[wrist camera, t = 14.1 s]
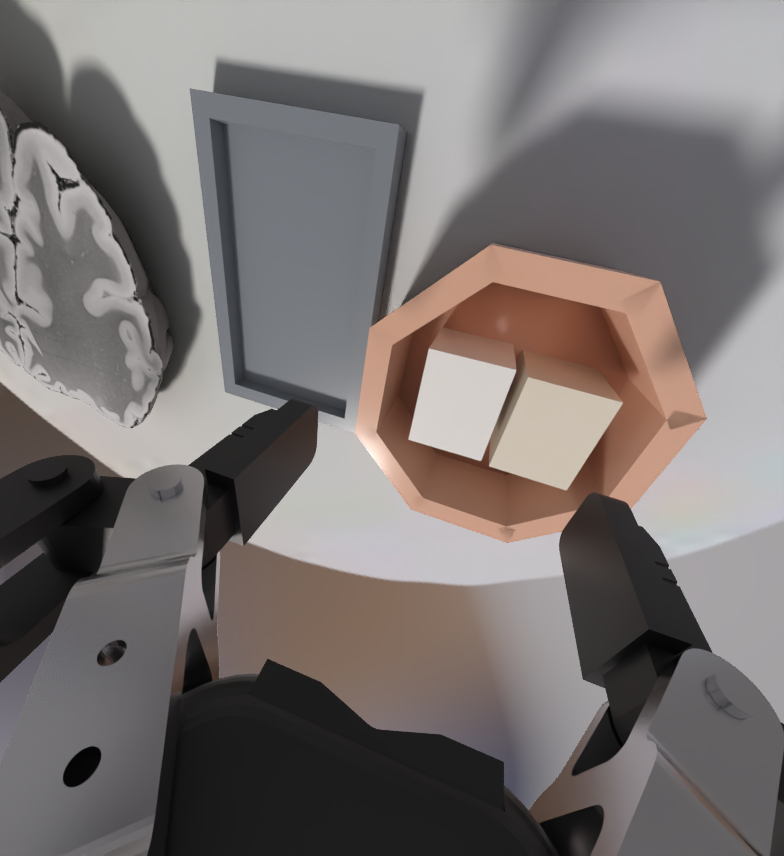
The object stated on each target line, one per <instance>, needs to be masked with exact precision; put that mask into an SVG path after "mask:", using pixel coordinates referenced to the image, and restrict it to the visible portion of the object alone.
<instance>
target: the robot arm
mask: <svg viewBox="0 0 784 856" xmlns="http://www.w3.org/2000/svg"><path fill="white" fill-rule="evenodd" d="M317 429H318V408H317V406H316V405H313V404H309V403H306V402H303V401H300V400H296V399H290V400H289V401H288V402H286V403H285V404H284V405H283V406H281V407H280V408H279V409H278V410H274V409H270V410H267V411H265V412H262V413H259V414H256V415H254V416H253V417H252V418H250V419H249V420H248V421H246V422H245V423H244V424H242V427H238V428H237V429H236V430H234V431H233V432H232V434H231V435H228V436H227V437H225V438H224V439H223V440H221V441H220V442H219V443H217V444H216V445H215V446H213V447H212V448H211V449H209V450H208V451H207V452H205V453H204V454H203V455H201V456H200V457H199V458H198V459H196V460H195V461H194V462H192V463H191V464H190V465H188V466H187V465H167V466H162V467H158V468H155V469H152V470H150V471H148V472H146V473H144V474H142V475H141V476H139V477H138V478H136V479H134V478H119V477H105V476H100V475H99V473H98V471H97V469H96V467H95V465H94V463H93V462H92V461H91V460H90V459H88V458H86V457H83V456H77V455H63V456H55V457H50V458H46V459H42V460H39V461H36V462H33V463H30V464H28V465H26V466H24V467H22V468H20V469H18V470H16V471H14V472H12V473H11V474H9V475H7V476H5V477H3V478H1V479H0V568H2V567H3V566H5V565H6V564H7V563H9V562H10V561H12V560H13V559H14V558H16V557H17V556H18V555H20V554H21V553H23V552H24V551H25V550H27V549H28V548H29V547H31V546H32V545H34V544H35V543H36V542H37V544H38V545H39V546H40V548H41V549H42V551H43V552H44V553H42V554H41V555H40V556H39V557H37V558H36V559H34V560H33V561H32V562H30V563H29V564H28V565H27V566H25V567H24V568H23V569H21V570H20V571H19V572H18V573H16V574H15V575H13V576H12V577H11V578H10V579H8V580H7V581H5V582H4V583H3V584H2V585H0V682H1V681H2V680H3V679H4V678H5V677H6V676H7V675H8V674H9V673H10V672H12V671H13V670H14V668H16V667H17V666H18V665H19V664H20V663H21V662H22V661H23V660H24V659H25V658H26V657H27V656H28V655H29V654H30V653H31V652H32V651H33V650H34V649H35V648H37V647H38V646H39V645H40V644H41V643H42V642H43V641H44V640H45V639H46V638H47V637H48V636H49V635H50V634H51V633H52V632H53V633H52V636H51V638H50V641H49V643H48V646H47V648H46V651H45V653H44V656H43V658H42V661H41V663H40V666H39V669H38V671H37V673H36V676H35V679H34V681H33V683H32V686H31V688H30V691H29V693H28V696H27V698H26V701H25V703H24V706H23V709H22V711H21V714H20V716H19V718H18V721H17V723H16V726H15V729H14V731H13V733H12V736H11V738H10V741H9V743H8V746H7V749H6V751H5V753H4V756H3V758H2V761H1V764H0V856H784V724H783V723H781V722H780V720H779V718H778V717H777V715H776V713H775V711H774V709H773V708H772V706H771V705H770V703H769V702H768V701H767V699H766V698H765V696H764V695H763V694H762V693H761V692H760V690H759V689H758V688H757V687H756V686H755V685H754V684H753V683H752V682H751V681H750V680H749V679H748V678H747V677H746V676H745V675H744V674H743V673H741V672H740V671H739V670H738V669H737V668H736V667H734V666H733V665H732V664H730V663H729V662H727V661H725V660H724V659H722V658H721V657H719V656H717V655H715V654H713V653H712V651H711V649H710V647H709V645H708V643H707V641H706V639H705V637H704V635H703V633H702V631H701V629H700V627H699V625H698V623H697V621H696V619H695V617H694V615H693V613H692V611H691V609H690V607H689V605H688V603H687V601H686V599H685V597H684V595H683V593H682V591H681V589H680V587H679V586H677V585H676V584H677V581H676V579H675V576H674V575H673V573H672V570H671V569H668V567H669V564H668V562H667V560H666V558H665V556H664V554H663V552H662V550H661V548H660V546H659V545H658V544H657V543H656V542H655V541H654V539H653V538H652V537H651V536H650V535H649V534H648V533H647V532H646V530H645V529H644V528H643V527H641V526H638V524H637V522H636V520H635V518H634V516H633V513H632V511H631V509H630V507H629V505H628V504H627V503H626V502H625V501H622V500H618V499H615V498H612V497H609V496H605V495H602V494H599V493H596V492H593V493H590V494H589V495H588V496H587V497H586V498H585V500H584V501H583V503H582V504H581V505H580V507H579V508H578V509H577V511H576V512H575V514H574V515H573V516H572V518H571V519H570V520H569V522H568V523H567V525H566V526H565V528H564V529H563V531H562V534H561V537H560V542H559V550H560V556H561V561H562V567H563V572H564V578H565V583H566V589H567V594H568V600H569V605H570V611H571V616H572V622H573V627H574V633H575V638H576V644H577V649H578V655H579V660H580V666H581V671H582V676H583V680H586V681H588V682H591V683H593V684H596V685H599V686H601V687H603V688H606V693H607V697H608V701H607V702H605V703H604V704H602V705H601V707H600V708H599V710H598V712H597V713H596V715H595V716H594V718H593V720H592V721H591V723H590V725H589V726H588V728H587V730H586V731H585V733H584V735H583V736H582V738H581V740H580V741H579V743H578V745H577V746H576V748H575V750H574V751H573V753H572V755H571V757H570V758H569V760H568V762H567V763H566V765H565V767H564V768H563V770H562V771H561V773H560V774H559V776H558V777H557V778H556V780H555V781H554V782H553V783H552V784H551V785H550V786H549V787H548V788H547V789H546V790H545V791H544V792H543V793H542V794H541V795H540V796H539V797H538V798H537V800H536V801H535V802H534V803H533V805H532V806H531V808H530V809H529V810H528V809H527V808H526V807H525V806H524V805H523V804H522V802H521V801H520V800H519V799H518V798H517V797H516V796H515V795H514V794H513V793H512V792H511V791H510V790H509V789H508V788H507V787H506V786H505V785H504V762H502V761H500V760H498V759H495V758H493V757H491V756H489V755H486V754H484V753H482V752H480V751H477V750H475V749H472V748H470V747H468V746H466V745H463V744H461V743H459V742H457V741H454V740H452V739H450V738H447V737H445V736H443V735H439V734H427V733H414V732H401V731H389V730H379V729H375V728H373V727H371V726H370V725H368V724H367V723H366V722H365V721H364V720H363V719H362V718H361V717H359V716H358V715H357V714H356V713H355V712H354V711H353V710H352V709H350V708H349V707H348V706H347V705H346V704H345V703H344V702H343V701H341V700H340V699H339V698H338V697H337V696H336V695H335V694H334V693H332V692H331V691H330V690H329V689H328V688H327V687H326V686H324V685H323V684H322V683H321V682H319V681H317V680H315V679H312V678H310V677H308V676H305V675H303V674H301V673H299V672H296V671H294V670H292V669H290V668H287V667H285V666H283V665H280V664H278V663H276V662H273V661H271V660H269V659H267V661H266V663H265V664H264V666H263V668H262V670H261V672H260V674H242V675H234V676H230V677H225V678H220V679H219V646H218V636H217V618H218V593H219V571H220V550H221V549H222V548H223V546H224V545H225V544H226V543H227V542H228V541H231V542H234V543H236V544H239V545H242V546H244V545H245V544H246V543H247V541H248V540H249V539H250V538H251V536H252V535H253V534H254V533H255V531H256V530H257V529H258V528H259V527H260V525H261V524H262V523H263V522H264V520H265V519H266V518H267V517H268V515H269V514H270V513H271V512H272V510H273V509H274V508H275V507H276V506H277V504H278V503H279V502H280V501H281V499H282V498H283V497H284V496H285V494H286V493H287V492H288V491H289V490H290V488H291V487H292V486H293V485H294V483H295V482H296V481H297V480H298V478H299V477H300V476H301V475H302V473H303V472H304V471H305V470H306V469H307V467H308V466H309V465H310V463H311V462H312V460H313V458H314V455H315V452H316V447H317Z"/></svg>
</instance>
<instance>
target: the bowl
mask: <svg viewBox="0 0 784 856" xmlns="http://www.w3.org/2000/svg"><path fill="white" fill-rule="evenodd" d="M442 327H443V328H447V329H451V330H456V331H460V332H464V333H468V334H473V335H477V336H481V337H485V338H489V339H494V340H498V341H502V342H506V343H511V344H513V345H514V353H515V361H516V365H517V362H518V360H519V357H520V355H521V353H522V350H526V351H530V352H534V353H538V354H542V355H546V356H549V357H553V358H557V359H561V360H565V361H569V362H573V363H577V364H581V365H584V366H588V367H592V368H596V369H599V371H600V372H601V373H602V375H603V376H604V377H605V379H606V380H607V381H608V383H609V384H610V385H611V387H612V388H613V389H614V391H615V392H616V394H617V395H618V396H619V398H620V399H621V400H622V402H623V404H622V406H621V407H620V409H619V410H618V412H617V413H616V415H615V416H614V418H613V419H612V421H611V423H610V424H609V426H608V427H607V429H606V430H605V432H604V433H603V435H602V437H601V438H600V440H599V441H598V443H597V444H596V446H595V447H594V449H593V450H592V452H591V454H590V455H589V457H588V458H587V460H586V461H585V463H584V464H583V466H582V467H581V469H580V471H579V472H578V474H577V475H576V477H575V478H574V480H573V481H572V483H571V484H570V486H569V488H568V489H567V491H566V490H563V489H560V488H556V487H553V486H550V485H547V484H544V483H541V482H537V481H534V480H531V479H528V478H525V477H521V476H518V475H515V474H512V473H509V472H505V471H502V470H499V469H496V468H493V467H489V454H490V440H489V442H488V445H487V447H486V450H485V452H484V455H483V457H482V460H481V461H479V460H475V459H472V458H469V457H465V456H462V455H459V454H455V453H452V452H448V451H445V450H442V449H438V448H435V447H431V446H428V445H425V444H421V443H418V442H415V441H411V440H408V439H409V435H410V430H411V426H412V421H413V417H414V412H415V408H416V404H417V399H418V395H419V390H420V386H421V381H422V377H423V372H424V368H425V364H426V359H427V355H428V350H429V347H430V346H431V344H432V343H433V341H434V340H435V338H436V337H437V335H438V334H439V332H440V330H441V329H442ZM706 419H707V418H706V415H705V412H704V409H703V407H702V404H701V401H700V398H699V395H698V392H697V389H696V386H695V383H694V380H693V377H692V374H691V371H690V368H689V365H688V362H687V359H686V356H685V353H684V350H683V347H682V344H681V341H680V338H679V335H678V332H677V329H676V326H675V323H674V321H673V318H672V315H671V312H670V309H669V306H668V303H667V300H666V297H665V294H664V291H663V288H662V285H661V282H660V281H658V280H654V279H650V278H647V277H643V276H639V275H636V274H632V273H628V272H625V271H621V270H617V269H612V268H607V267H603V266H598V265H594V264H589V263H584V262H580V261H575V260H571V259H566V258H561V257H557V256H552V255H547V254H543V253H538V252H534V251H529V250H524V249H520V248H515V247H511V246H506V245H501V244H497V243H492V244H490V245H489V246H488V247H486V248H485V249H484V250H482V251H481V252H479V253H478V254H476V255H475V256H473V257H472V258H470V259H469V260H468V261H466V262H465V263H463V264H462V265H460V266H459V267H457V268H456V269H454V270H453V271H452V272H450V273H449V274H447V275H446V276H444V277H443V278H441V279H440V280H438V281H437V282H435V283H434V284H433V285H431V286H430V287H428V288H427V289H425V290H424V291H422V292H421V293H419V294H418V295H417V296H415V297H414V298H412V299H411V300H409V301H408V302H406V303H405V304H403V305H402V306H401V307H399V308H397V309H396V310H394V311H393V312H392V313H390V314H389V315H387V316H386V317H384V318H383V319H381V320H380V321H378V322H377V323H376V324H374V325H373V326H371V327H370V328H369V335H368V343H367V350H366V357H365V364H364V371H363V378H362V385H361V393H360V400H359V407H358V414H357V421H356V428H355V434H356V435H357V437H358V438H359V439H360V441H361V442H362V443H363V445H364V446H365V448H366V449H367V450H368V452H369V453H370V454H371V456H372V457H373V458H374V460H375V461H376V463H377V464H378V465H379V467H380V468H381V469H382V471H383V472H384V473H385V475H386V476H387V478H388V479H389V480H390V482H391V483H392V484H393V486H394V487H395V488H396V490H397V491H398V493H399V494H400V495H401V497H402V498H403V499H404V501H405V502H406V503H407V505H408V506H409V508H410V509H411V510H414V511H417V512H420V513H423V514H426V515H429V516H432V517H434V518H437V519H440V520H443V521H446V522H449V523H452V524H455V525H457V526H460V527H463V528H466V529H469V530H472V531H475V532H478V533H480V534H483V535H486V536H489V537H492V538H495V539H498V540H501V541H504V542H506V543H509V542H514V541H519V540H524V539H528V538H533V537H538V536H543V535H548V534H552V533H557V532H562V531H563V529H564V528H565V526H566V525H567V523H568V522H569V520H570V519H571V518H572V516H573V515H574V514H575V512H576V511H577V509H578V508H579V507H580V505H581V504H582V503H583V501H584V500H585V498H586V497H587V496H588V495H589V494H590V493H593V492H596V493H599V494H602V495H605V496H609V497H612V498H615V499H618V500H622V501H625V502H626V503H627V504H628V505H629V507H630V509H631V508H632V507H633V506H634V505H635V504H636V502H637V501H638V500H639V499H640V498H641V496H642V495H643V494H644V493H645V492H646V491H647V489H648V488H649V487H650V486H651V485H652V483H653V482H654V481H655V480H656V479H657V477H658V476H659V475H660V474H661V473H662V471H663V470H664V469H665V468H666V467H667V465H668V464H669V463H670V462H671V461H672V459H673V458H674V457H675V456H676V455H677V454H678V452H679V451H680V450H681V449H682V448H683V446H684V445H685V444H686V443H687V442H688V440H689V439H690V438H691V437H692V436H693V434H694V433H695V432H696V431H697V430H698V428H699V427H700V426H701V425H702V424H703V422H704V421H705V420H706Z"/></svg>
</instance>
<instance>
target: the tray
mask: <svg viewBox="0 0 784 856" xmlns="http://www.w3.org/2000/svg"><path fill="white" fill-rule="evenodd" d="M190 95H191V103H192V112H193V120H194V129H195V137H196V146H197V155H198V163H199V172H200V180H201V189H202V197H203V206H204V215H205V223H206V232H207V240H208V249H209V257H210V266H211V275H212V283H213V292H214V300H215V309H216V317H217V326H218V335H219V343H220V352H221V360H222V369H223V377H224V386H225V392H227V393H230V394H233V395H236V396H239V397H242V398H245V399H249V400H252V401H255V402H258V403H261V404H264V405H267V406H270V407H274V408H277V409H279V408H280V407H281V406H283V405H284V404H285V403H286V402H288V401H289V400H290V399H296V400H300V401H303V402H306V403H309V404H313V405H316V406H317V408H318V422H320V423H323V424H327V425H330V426H333V427H336V428H339V429H342V430H345V431H348V432H352V433H355V428H356V421H357V414H358V407H359V400H360V393H361V385H362V378H363V371H364V364H365V357H366V350H367V343H368V335H369V328H370V327H371V326H373V325H374V324H376V323H377V322H378V321H379V314H380V308H381V301H382V295H383V288H384V282H385V275H386V269H387V262H388V255H389V249H390V242H391V236H392V229H393V223H394V216H395V210H396V203H397V197H398V190H399V184H400V177H401V171H402V164H403V157H404V151H405V144H406V138H407V132H406V131H405V130H404V129H403V128H402V127H401V126H400V125H399V124H394V123H388V122H382V121H376V120H370V119H364V118H359V117H353V116H347V115H341V114H335V113H329V112H324V111H318V110H312V109H306V108H300V107H295V106H289V105H283V104H277V103H271V102H265V101H260V100H254V99H248V98H242V97H236V96H230V95H225V94H219V93H213V92H207V91H201V90H196V89H190Z"/></svg>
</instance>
